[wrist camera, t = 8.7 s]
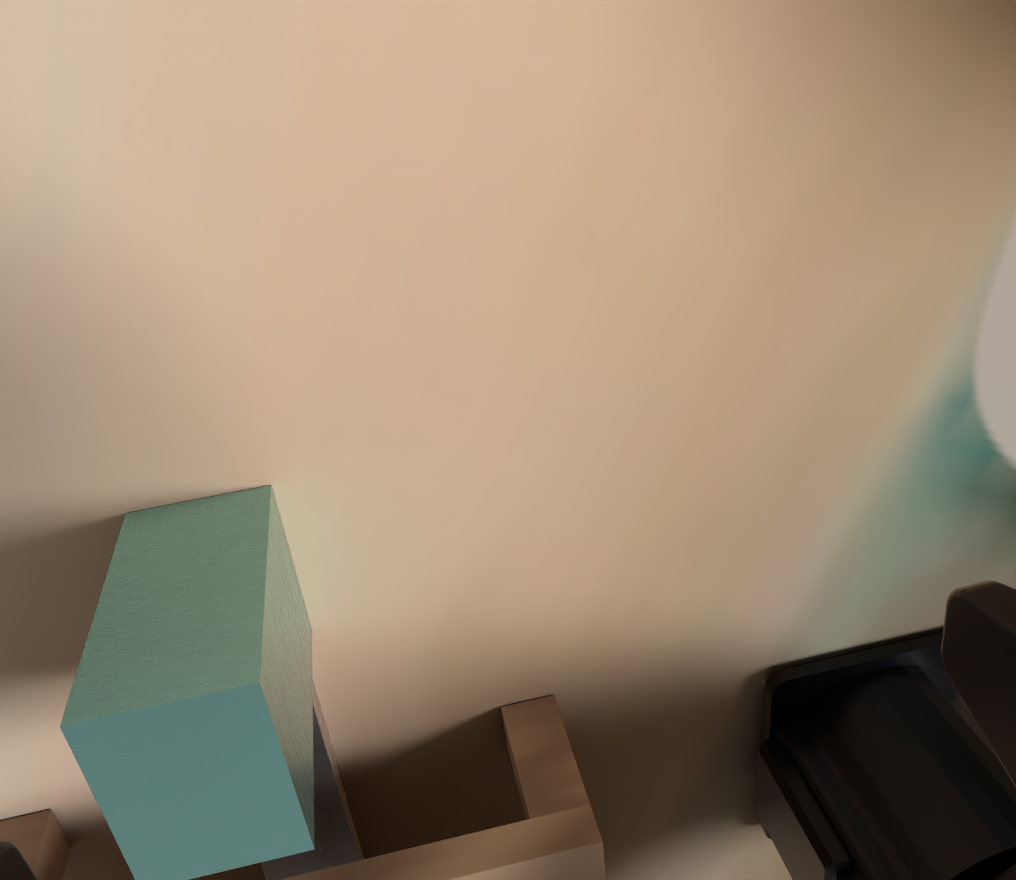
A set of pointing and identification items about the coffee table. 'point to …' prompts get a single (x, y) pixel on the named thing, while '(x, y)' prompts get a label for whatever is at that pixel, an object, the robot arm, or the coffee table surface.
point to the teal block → (207, 699)
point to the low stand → (456, 861)
